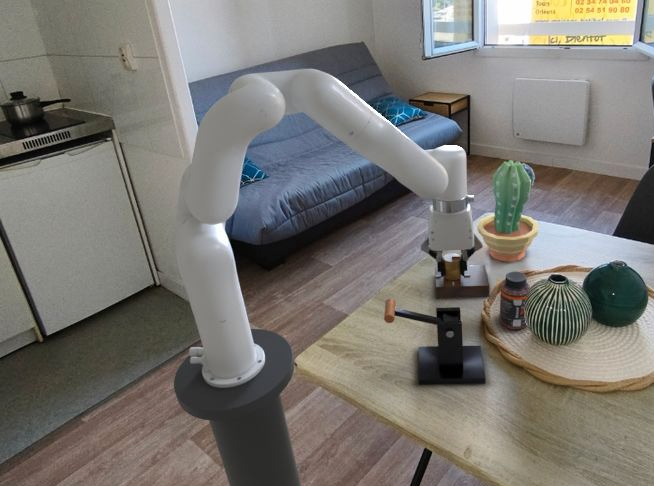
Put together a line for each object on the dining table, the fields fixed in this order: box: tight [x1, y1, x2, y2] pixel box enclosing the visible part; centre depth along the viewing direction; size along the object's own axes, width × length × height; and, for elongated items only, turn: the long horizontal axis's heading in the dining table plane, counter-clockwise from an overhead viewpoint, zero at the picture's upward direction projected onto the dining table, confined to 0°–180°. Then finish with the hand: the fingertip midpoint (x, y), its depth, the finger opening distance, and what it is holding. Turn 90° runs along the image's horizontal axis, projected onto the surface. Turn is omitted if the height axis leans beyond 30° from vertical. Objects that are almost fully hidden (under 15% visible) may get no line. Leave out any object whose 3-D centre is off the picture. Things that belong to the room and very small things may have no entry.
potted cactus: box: [476, 159, 540, 263], centre depth 126 cm, size 15×15×25 cm
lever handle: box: [383, 298, 458, 326], centre depth 91 cm, size 13×5×2 cm, turn 86°
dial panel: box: [434, 264, 490, 299], centre depth 118 cm, size 12×9×3 cm
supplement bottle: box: [499, 270, 532, 330], centre depth 103 cm, size 6×6×11 cm
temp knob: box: [442, 252, 461, 280], centre depth 117 cm, size 4×4×5 cm
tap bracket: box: [418, 306, 487, 385], centre depth 93 cm, size 12×9×12 cm
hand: (452, 272), depth 118 cm, fingers closed on temp knob, 4 cm apart
